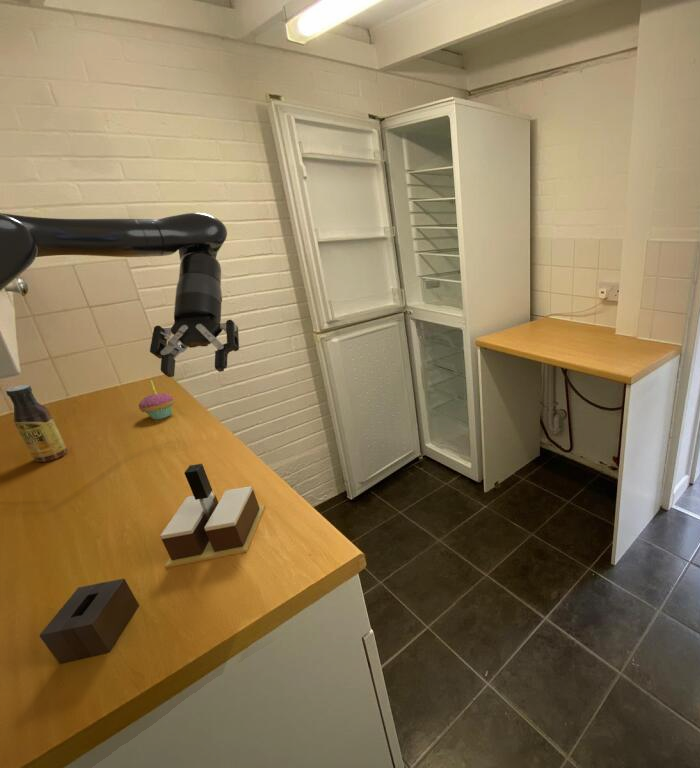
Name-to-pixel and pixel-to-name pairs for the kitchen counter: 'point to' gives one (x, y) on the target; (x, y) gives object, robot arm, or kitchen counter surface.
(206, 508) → the knife
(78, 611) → the knife block
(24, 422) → the sauce bottle
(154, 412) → the cupcake
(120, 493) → the kitchen counter surface
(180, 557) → the cake
